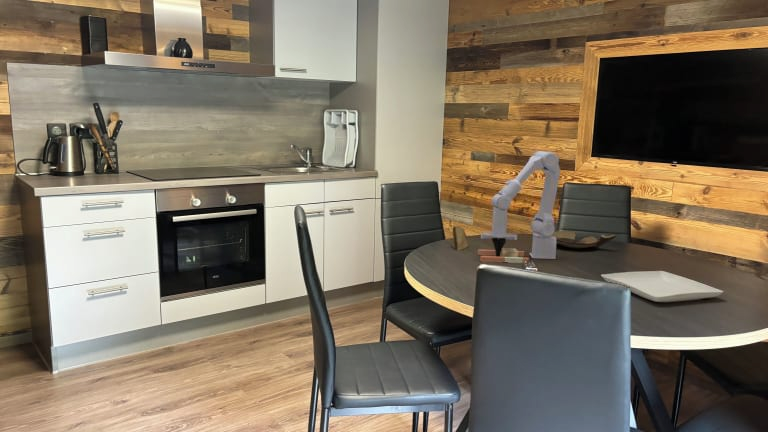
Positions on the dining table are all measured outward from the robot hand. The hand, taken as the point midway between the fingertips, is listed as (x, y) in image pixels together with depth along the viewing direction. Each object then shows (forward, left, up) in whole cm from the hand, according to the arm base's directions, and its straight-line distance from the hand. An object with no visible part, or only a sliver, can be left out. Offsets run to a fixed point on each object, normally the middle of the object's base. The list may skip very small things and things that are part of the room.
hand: (497, 256), depth 231 cm
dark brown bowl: (-38, -27, -1) cm, 47 cm away
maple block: (-5, 0, -1) cm, 5 cm away
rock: (+14, -18, -1) cm, 23 cm away
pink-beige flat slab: (-2, 0, -1) cm, 2 cm away
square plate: (-50, +38, -2) cm, 62 cm away
